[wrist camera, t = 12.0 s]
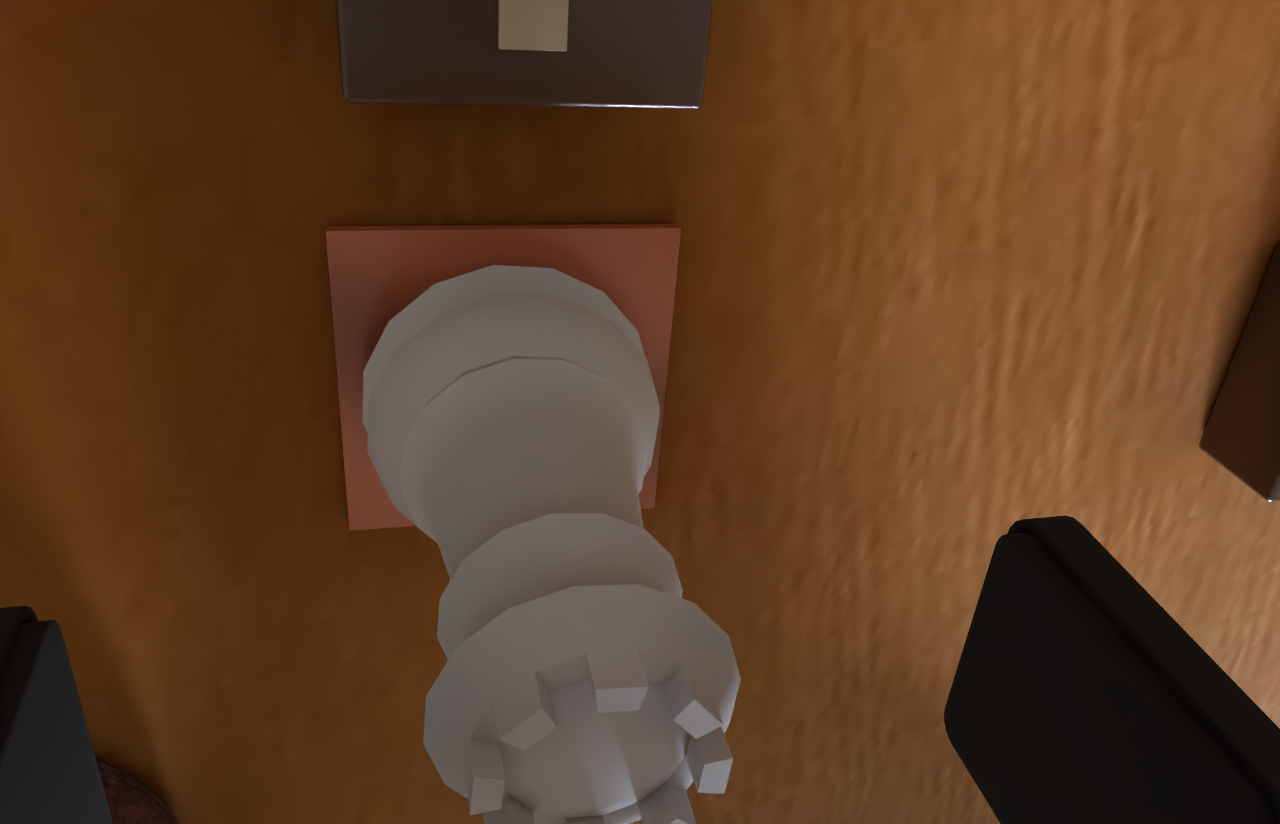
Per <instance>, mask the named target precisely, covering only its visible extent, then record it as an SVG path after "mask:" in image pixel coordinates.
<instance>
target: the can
mask: <svg viewBox="0 0 1280 824" xmlns="http://www.w3.org/2000/svg"><path fill="white" fill-rule="evenodd" d="M96 762H97V766H98V769H99V773H100V777H101V780H102V784H103V788H104V792H105V795H106V799H107V803H108V806H109V810H110V814H111V818H112V823H113V824H179V822H178V821H177V819H176V818H175V816H174V815H173V813H172V812H171V811H170V809H169V808H168V806H167V805H166V804H165V803H164V802H163V801H162V800H160V799H159V798H158V797H157V796H156V795H155V794H154V793H153V792H152V791H151V790H149V789H148V788H147V787H146V786H145V785H144V784H143V783H142V782H141V781H139V780H138V779H136V778H134V777H132V776H130V775H128V774H125V773H123V772H121V771H119V770H117V769H115V768H112V767H110V766H108V765H106V764H104V763H102V762H100V761H97V760H96Z"/></svg>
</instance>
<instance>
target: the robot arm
mask: <svg viewBox="0 0 1280 824" xmlns="http://www.w3.org/2000/svg"><path fill="white" fill-rule="evenodd" d="M944 722H945V728H946V732H947V735H948V738H949V740H950V742H951V744H952V745H953V747H954V749H955V750H956V752H957V754H958V755H959V757H960V758H961V760H962V762H963V763H964V765H965V767H966V768H967V770H968V771H969V773H970V775H971V776H972V778H973V780H974V781H975V783H976V784H977V786H978V788H979V789H980V791H981V793H982V794H983V796H984V797H985V799H986V801H987V802H988V804H989V806H990V807H991V809H992V810H993V812H994V814H995V815H996V817H997V818H998V820H999V822H1000V823H1001V824H1280V729H1279V728H1278V727H1277V726H1276V725H1275V724H1274V723H1273V722H1272V721H1271V719H1270V718H1269V717H1268V716H1267V715H1266V714H1265V713H1264V712H1263V711H1262V710H1261V709H1260V708H1259V707H1258V706H1257V705H1256V704H1255V703H1254V702H1253V701H1252V700H1251V699H1250V698H1249V697H1248V696H1247V695H1246V694H1245V693H1244V692H1243V691H1242V690H1241V688H1240V687H1239V686H1238V685H1237V684H1236V683H1235V682H1234V681H1233V680H1232V679H1231V678H1230V677H1229V676H1228V675H1227V674H1226V673H1225V672H1224V671H1223V670H1222V669H1221V668H1220V667H1219V666H1218V665H1217V664H1216V663H1215V662H1214V661H1213V660H1212V659H1211V657H1210V656H1209V655H1208V654H1207V653H1206V652H1205V651H1204V650H1203V649H1202V648H1201V647H1200V646H1199V645H1198V644H1197V643H1196V642H1195V641H1194V640H1193V639H1192V638H1191V637H1190V636H1189V635H1188V634H1187V633H1186V632H1185V631H1184V630H1183V629H1182V628H1181V626H1180V625H1179V624H1178V623H1177V622H1176V621H1175V620H1174V619H1173V618H1172V617H1171V616H1170V615H1169V614H1168V613H1167V612H1166V611H1165V610H1164V609H1163V608H1162V607H1161V606H1160V605H1159V604H1158V603H1157V602H1156V601H1155V600H1154V599H1153V598H1152V597H1151V595H1150V594H1149V593H1148V592H1147V591H1146V590H1145V589H1144V588H1143V587H1142V586H1141V585H1140V584H1139V583H1138V582H1137V581H1136V580H1135V579H1134V578H1133V577H1132V576H1131V575H1130V574H1129V573H1128V572H1127V571H1126V570H1125V569H1124V568H1123V567H1122V566H1121V564H1120V563H1119V562H1118V561H1117V560H1116V559H1115V558H1114V557H1113V556H1112V555H1111V554H1110V553H1109V552H1108V551H1107V550H1106V549H1105V548H1104V547H1103V546H1102V545H1101V544H1100V543H1099V542H1098V541H1097V540H1096V539H1095V538H1094V537H1093V536H1092V535H1091V534H1090V532H1089V531H1088V530H1087V529H1086V528H1085V527H1084V526H1083V525H1082V524H1081V523H1080V522H1078V521H1077V520H1076V519H1074V518H1073V517H1069V516H1056V517H1045V518H1033V519H1023V520H1019V521H1016V522H1015V523H1014V524H1013V525H1012V526H1011V527H1010V529H1009V531H1008V533H1007V534H1006V535H1002V536H1001V537H1000V538H999V539H998V541H997V543H996V545H995V549H994V552H993V555H992V558H991V561H990V565H989V568H988V571H987V574H986V578H985V581H984V584H983V587H982V590H981V594H980V597H979V600H978V603H977V606H976V610H975V613H974V616H973V619H972V623H971V626H970V629H969V632H968V635H967V639H966V642H965V645H964V648H963V652H962V655H961V658H960V661H959V664H958V668H957V671H956V674H955V677H954V680H953V684H952V687H951V690H950V693H949V697H948V700H947V703H946V706H945V712H944ZM0 824H113V823H112V818H111V814H110V810H109V806H108V803H107V799H106V795H105V792H104V788H103V784H102V780H101V777H100V773H99V769H98V766H97V762H96V758H95V754H94V751H93V747H92V743H91V740H90V736H89V732H88V728H87V725H86V721H85V717H84V714H83V710H82V706H81V702H80V699H79V695H78V691H77V688H76V684H75V680H74V676H73V673H72V669H71V665H70V662H69V658H68V654H67V650H66V647H65V643H64V639H63V636H62V632H61V629H60V626H59V624H58V623H57V622H56V621H54V620H48V621H38V620H37V617H36V614H35V612H34V611H33V610H32V609H31V607H28V606H19V607H7V608H0Z"/></svg>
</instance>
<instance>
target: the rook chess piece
mask: <svg viewBox="0 0 1280 824" xmlns="http://www.w3.org/2000/svg"><path fill="white" fill-rule="evenodd" d="M659 413H660V404H659V401H658V397H657V394H656V390H655V386H654V383H653V379H652V376H651V372H650V368H649V365H648V361H647V359H646V357H645V355H644V351H643V348H642V344H641V340H640V337H639V333H638V331H637V329H636V328H635V327H634V326H633V325H632V324H631V323H630V321H629V320H628V319H627V318H626V317H625V316H624V315H623V313H622V312H621V311H620V310H619V309H618V308H617V306H616V305H615V304H614V303H613V302H612V301H611V300H610V298H609V297H608V296H607V295H606V294H605V293H604V292H603V291H601V290H599V289H596V288H594V287H592V286H590V285H588V284H586V283H584V282H581V281H579V280H577V279H575V278H573V277H571V276H569V275H566V274H564V273H562V272H560V271H558V270H556V269H554V268H540V267H521V266H502V265H491V266H488V267H485V268H482V269H479V270H476V271H473V272H470V273H466V274H463V275H460V276H457V277H454V278H451V279H448V280H445V281H442V282H439V283H436V284H434V285H432V286H431V287H430V288H429V289H428V290H426V291H425V292H424V293H423V294H421V295H420V296H419V297H418V298H417V299H415V300H414V301H413V302H412V303H411V304H409V305H408V306H407V307H406V308H404V309H403V310H402V311H401V312H400V313H398V314H397V315H396V316H395V317H394V318H392V319H391V320H390V321H389V322H388V324H387V326H386V328H385V330H384V332H383V333H382V335H381V337H380V339H379V341H378V343H377V345H376V347H375V349H374V351H373V353H372V355H371V357H370V359H369V361H368V363H367V365H366V367H365V369H364V371H363V416H362V422H363V425H364V427H365V429H366V431H367V433H368V446H367V452H368V454H369V457H370V459H371V461H372V463H373V465H374V467H375V469H376V471H377V473H378V475H379V478H380V480H381V482H382V484H383V486H384V488H385V490H386V492H387V494H388V496H389V498H390V500H391V502H392V503H393V505H394V506H395V508H396V509H397V510H398V511H399V512H400V513H402V514H403V515H404V516H405V517H407V518H408V519H409V520H410V521H411V522H413V523H414V524H415V525H416V526H417V527H418V528H419V529H420V530H422V531H423V532H424V533H425V534H426V535H428V536H429V537H430V538H431V539H433V540H434V541H435V542H436V543H437V544H438V545H439V548H440V551H441V554H442V557H443V560H444V563H445V566H446V569H447V572H448V575H449V580H450V582H449V584H448V585H447V587H446V589H445V590H444V592H443V594H442V595H441V597H440V601H439V616H438V630H437V638H438V640H439V643H440V645H441V647H442V649H443V651H444V653H445V655H446V657H447V659H448V661H447V663H446V665H445V666H444V668H443V669H442V671H441V673H440V674H439V676H438V678H437V679H436V681H435V682H434V684H433V686H432V687H431V689H430V691H429V692H428V694H427V695H426V706H425V722H424V737H423V745H424V747H425V749H426V750H427V752H428V754H429V756H430V758H431V760H432V761H433V763H434V765H435V767H436V769H437V771H438V773H439V774H440V776H441V778H442V780H443V782H444V784H445V785H447V786H448V787H450V788H451V789H453V790H455V791H456V792H458V793H459V794H461V795H462V796H464V797H465V798H467V799H468V802H469V812H470V816H471V815H475V814H480V813H483V819H484V824H631V823H633V822H636V821H639V820H642V822H643V824H697V823H696V820H695V817H694V814H693V811H692V807H691V804H690V801H689V798H688V795H687V792H686V790H687V789H688V788H689V786H690V785H691V784H692V782H693V781H694V783H695V786H696V789H697V792H699V793H715V794H724V793H725V789H726V785H727V781H728V777H729V774H730V770H731V766H732V762H733V756H732V753H731V751H730V748H729V745H728V743H727V740H726V738H725V735H724V733H725V731H726V729H727V728H728V726H729V724H730V720H731V716H732V712H733V708H734V704H735V700H736V696H737V692H738V688H739V684H740V680H741V678H740V674H739V670H738V667H737V663H736V659H735V656H734V652H733V649H732V645H731V641H730V638H729V636H728V635H727V634H726V633H725V632H724V631H723V630H722V629H721V628H720V627H719V626H718V625H717V624H716V623H715V622H714V621H713V620H712V619H711V618H710V617H709V616H708V615H707V614H706V613H704V612H703V611H702V610H701V609H700V608H699V607H698V606H697V605H696V604H695V603H694V602H691V601H688V600H685V599H682V593H683V590H682V587H681V583H680V580H679V577H678V573H677V570H676V566H675V563H674V560H673V556H672V555H671V554H670V553H669V552H668V551H667V550H666V549H665V548H664V547H663V546H662V545H661V544H660V543H659V542H658V541H657V540H656V539H655V538H654V537H653V536H652V535H651V534H650V533H648V532H647V531H646V530H645V529H644V528H643V522H642V515H641V509H640V502H639V496H638V494H639V493H640V491H641V490H642V485H643V479H644V476H645V475H646V473H647V471H648V470H649V468H650V467H651V463H652V457H653V452H654V446H655V440H656V435H657V429H658V423H659Z"/></svg>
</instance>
